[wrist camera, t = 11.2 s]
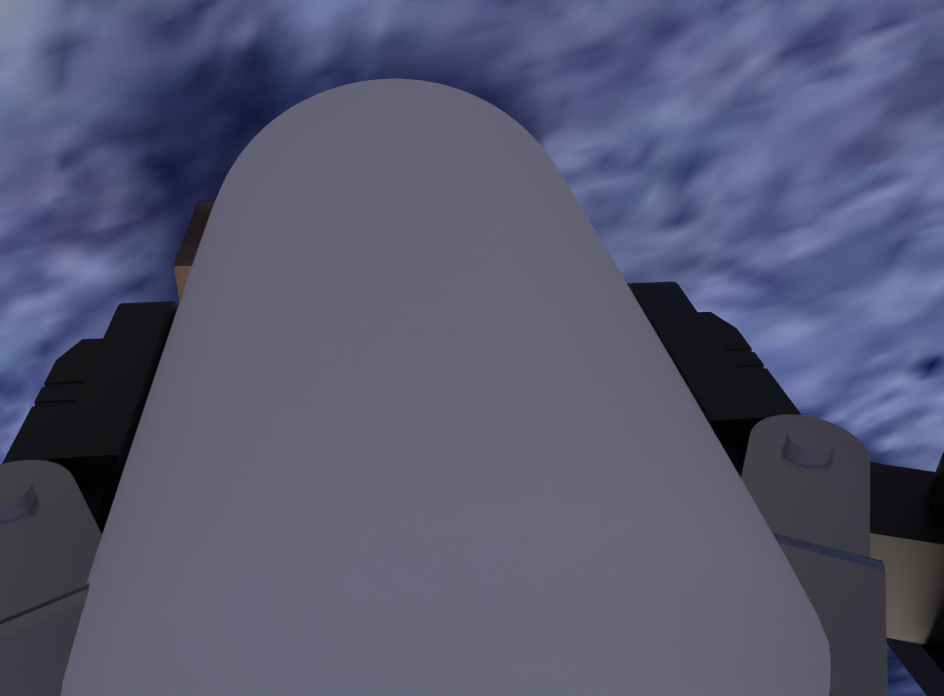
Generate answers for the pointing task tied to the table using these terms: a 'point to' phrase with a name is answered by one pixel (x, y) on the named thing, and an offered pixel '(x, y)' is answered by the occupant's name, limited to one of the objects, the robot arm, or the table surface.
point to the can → (426, 446)
